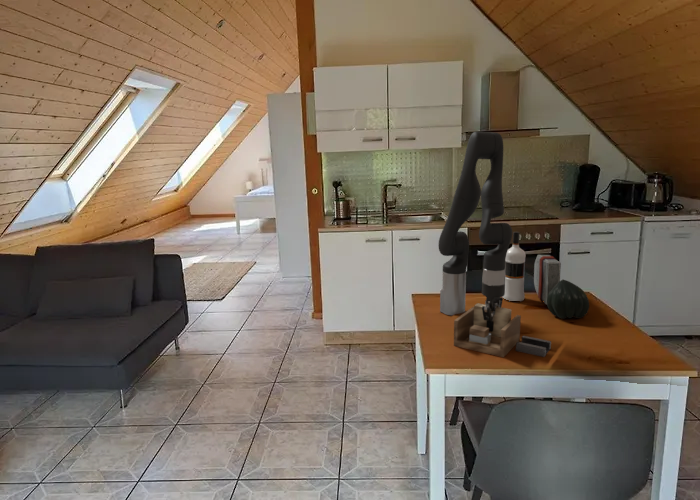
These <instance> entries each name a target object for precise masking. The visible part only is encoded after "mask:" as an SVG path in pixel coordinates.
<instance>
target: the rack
mask: <svg viewBox="0 0 700 500" xmlns="http://www.w3.org/2000/svg"><path fill="white" fill-rule="evenodd" d="M521 318H522V315H520V314H516V315H515V316H514V317H513V318H511V321H510V322H509V323H508V324H507V325H506V326H505V327H504V328H502V329H501V337H497V336H492V335H491V341H490V347H489V346H485V345H481V344H476V343H472V342H469V337H470V328H471V327H472V326H474V306H472V307H471V308H469V309H468V310H465V312H463V313H461V315H459V316H458V317H457V318H455V319H454V320H453V347H458V348H463V349H467V350H471V351H475V352H479V353H482V354H488V355H493V356H495V357H496V356H497V357H501V358H505V356H506V355H508V353H509V352H510V351H511V350H512V349H513V348H514V347H516V343H517V342H521V341H520V339H521V338H520V337H521Z"/></svg>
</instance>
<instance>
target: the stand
mask: <svg viewBox="0 0 700 500" xmlns="http://www.w3.org/2000/svg"><path fill="white" fill-rule="evenodd" d="M551 346H552V341H550V340H547V339H542V338H538V337H531V336H527V335H522V336H521V341H519V342H517V343H516V345H515V351H516V352H520V353H524V354H528V355H532V356H537V357H543V358H545V357H546V355H547V354H548V353H549V352H550V350H552V349H551Z"/></svg>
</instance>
